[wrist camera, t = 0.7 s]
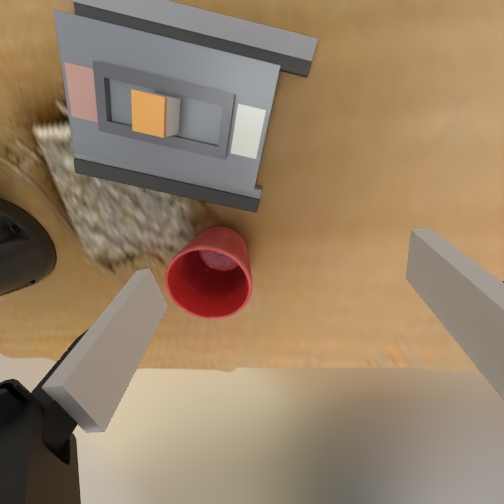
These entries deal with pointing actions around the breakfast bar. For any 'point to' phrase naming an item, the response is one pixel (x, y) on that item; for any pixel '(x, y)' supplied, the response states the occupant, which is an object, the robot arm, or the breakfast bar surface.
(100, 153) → the breaker panel
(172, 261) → the flower pot
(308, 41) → the grey long bar
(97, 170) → the long gray bar
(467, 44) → the breakfast bar surface
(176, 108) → the lever
